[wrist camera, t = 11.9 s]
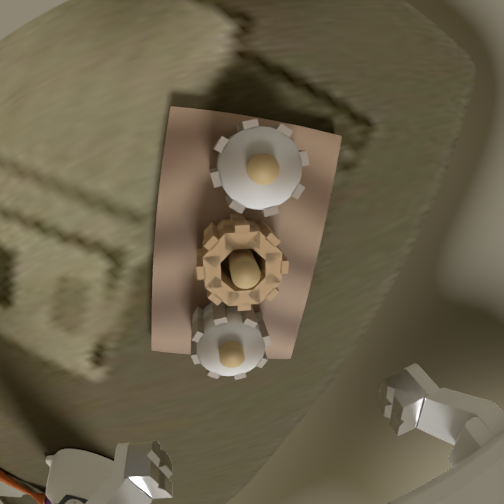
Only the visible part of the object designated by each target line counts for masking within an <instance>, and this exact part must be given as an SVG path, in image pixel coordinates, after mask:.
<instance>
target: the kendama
mask: <svg viewBox="0 0 504 504" xmlns="http://www.w3.org/2000/svg"><path fill="white" fill-rule="evenodd" d="M0 481H2V482H4V483H6V484H8V485H10V486H12V487H14V488H16V489H18V490H20V491H22V492H24V493H27V494H29V495H31V496H32V497H33V498H34V499H35V500H36V501H37V502H38V503H39V504H51V502H50V500H49V499H48V498H47V496H46V494H44V493H36V492H31V491H30V490H28V489H27V488H25V487H24V486H22V485H21V484H20V483H18V482H17V481H15V480H14V479H13V478H11V477H10V476H9V475H7V474H6V473H5V472H3V471H2V470H1V469H0Z"/></svg>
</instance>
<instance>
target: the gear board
mask: <svg viewBox="0 0 504 504" xmlns="http://www.w3.org/2000/svg"><path fill="white" fill-rule="evenodd" d="M341 138H342V136H339V135H335V134H331V133H327V132H323V131H319V130H315V129H311V128H306V127H302V126H297V125H293V124H288V123H283V122H278V121H273V120H268V119H263V118H257V117H251V116H245V115H239V114H232V113H226V112H218V111H211V110H203V109H194V108H184V107H174V106H171V107H170V112H169V118H168V125H167V131H166V138H165V145H164V152H163V159H162V167H161V176H160V184H159V194H158V204H157V215H156V227H155V241H154V257H153V279H152V351H161V352H170V353H180V354H191V358H192V360H193V362H194V364H200V363H201V364H202V365H203V366H204V367H205V368H206V369H207V375H208V376H210V377H213V378H216V379H218V378H219V376H220V375H223V376H234V377H235V380H237V379H241V378H245V377H247V376H246V372H248V371H250V370H252V369H253V368H254V367H256V366H258V367H260V368H262V367H263V365H264V364H265V363H266V362H267V360H268V359H290V358H291V355H292V351H293V348H294V344H295V341H296V337H297V334H298V330H299V327H300V323H301V319H302V315H303V312H304V308H305V304H306V300H307V296H308V293H309V289H310V285H311V281H312V277H313V272H314V268H315V264H316V260H317V256H318V252H319V247H320V243H321V238H322V234H323V229H324V225H325V220H326V216H327V211H328V206H329V201H330V196H331V192H332V186H333V181H334V176H335V171H336V166H337V160H338V155H339V149H340V143H341ZM230 213H241V214H242V213H243V214H244V216H245V217H246V218H252V220H253V221H255V222H256V223H258V222H259V221H260V220H262V221H264V222H265V223H266V224H267V225H268V226H269V227H270V228H271V230H272V231H273V232H274V233H275V235H276V236H277V237H278V239H279V240H280V241H281V242H280V243H279V244H278V246H279V248H280V249H281V251H282V252H283V253H284V255H285V256H286V258H287V259H288V260H289V269H288V274H282V282H281V283H280V284H279V285H278V286H277V288H278V290H279V292H280V293H279V294H277V295H276V296H275V297H274V298H273V299H272V300H271V301H269V300H268V299H267V298H265V299H264V300H263V301H262V302H261V303H260V304H251V310H246V311H238V310H237V306H228V305H227V304H225V303H224V302H223V301H222V302H221V303H220V304H219V305H216V304H215V303H214V302H212V301H211V300H210V299H208V298H207V289H206V288H205V281H204V280H197V269H196V263H197V249H198V248H203V240H204V230H205V229H206V228H207V227H208V226H209V224H210V223H211V222H213V223H214V224H215V225H216V226H217V225H218V224H219V223H220V222H221V221H222V219H223V220H226V219H230ZM256 258H257V252H256V251H255V250H253V249H236V250H232V252H231V253H230V254H229V255H228V256H227V257H226V258H225V259H224V260H223V261H222V262H221V263H222V264H223V265H225V266H226V267H227V268H228V269H229V270H230V273H231V278H232V281H233V283H234V284H235V285H236V286H237V287H239V288H242V289H248V288H252V287H253V286H255V285H256V284H257V283H258V282H259V280H260V276H261V273H260V269H259V267H258V265H257V263H256V260H255V259H256Z"/></svg>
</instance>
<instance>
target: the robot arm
mask: <svg viewBox="0 0 504 504" xmlns="http://www.w3.org/2000/svg"><path fill="white" fill-rule="evenodd" d="M378 387H379V388H380V390H381V391H380V392H379V393H378V404H379V407H380V409H381V411H382V413H383V415H384V416H386V417H388V418H390V426H391V427H392V429H393V430H394V432H395V434H396V435H397V436H399V435H401V434H403V433H405V432H408V431H410V430H411V429H414V428H416V427H417V428H418V429H420V430H423V431H424V432H427V433H429V434H431V435H433V436H435V437H437V438H440V439H442V440H444V441H446V442H448V443H450V444H453V445H454V447H453V449H452V451H451V453H450V454H449V457H448V460H449V461H450V463H451V464H452V466H453V467H452V468H450V469H449V470H447V471H446V472H444V473H442V474H441V475H439V476H438V477H436V478H434V479H432V480H431V481H429V482H427V483H426V484H424V485H422V486H420V487H418V488H416V489H415V490H413V491H411V492H409V493H407V494H405V495H403V496H401V497H399V498H397V499H395V500H393V501H391V502H389V503H386V504H504V412H503V411H502V410H501V409H500V408H499V407H498V406H497V405H496V404H495V403H494V402H493V401H490V400H486V399H482V398H478V397H475V396H471V395H467V394H464V393H460V392H457V391H453V390H449V389H446V388H441V389H439V387H438V386H437V385H436V384H435V383H434V382H433V381H432V380H431V379H430V378H429V376H428V375H427V374H426V373H425V372H424V371H423V370H422V369H421V367H420V366H419V365H418V364H413V365H411V366H409V367H406V368H405V369H402V370H399V371H398V372H395V373H393V374H391V375H389V376H387V377H385V378H382V379H380V381H379V386H378ZM160 448H161V445H160V444H159V443H158V442H157V441H146V442H132V443H119V444H118V445H117V447H116V451H115V457H114V461H112V460H110V459H108V458H105V457H103V456H100V455H98V454H95V453H91V452H88V451H83V450H78V449H62V450H59V451H58V452H57V453H56V454H55V455H50V456H46V463H47V464H48V465H49V466H50V470H49V475H48V481H47V486H46V496H47V498H48V499H49V500H50V502H51V504H150V503H151V501H152V499H155V498H168V497H173V483H172V482H171V481H170V479H169V477H170V476H171V475H172V473H173V468H172V463H171V459H170V457H169V455H168V454H167V453H166V452H165V451H163V450H161V449H160Z"/></svg>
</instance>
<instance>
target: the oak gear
mask: <svg viewBox="0 0 504 504" xmlns="http://www.w3.org/2000/svg"><path fill="white" fill-rule="evenodd" d="M280 242H281V241H280V240H279V239H278V237H277V236H276V235H275V233H274V232H273V231H272V230H271V228H270V227H269V226H268V225H267V224H266V223H265V222H264V221H262V220H260V221H259V222H258V223H256V222H255V221H253V220H252V218H246V217H245V216H244V214H243V213H242V214H241V213H230V219H226V220H223V219H222V221H221V222H220V223H219V224H218V225H217V226H216V225H215V224H214V223H213V222H211V223H210V224H209V226H208V227H207V228H206V229H205V230H204V240H203V248H198V249H197V263H196V269H197V280H204V281H205V288H206V289H207V298H208V299H210V300H211V301H212V302H214V303H215V304H216V305H219V304H220V303H221V302H222V301H223V302H224V303H225V304H227V305H228V306H237V310H238V311H246V310H251V304H260V303H261V302H262V301H263V300H264V299H265V298H267V299H268V300H269V301H271V300H272V299H273V298H274V297H275V296H276V295H277V294H279V293H280V292H279V290H278V288H277V286H278V285H279V284H280V283H281V282H282V274H288V269H289V260H288V259H287V258H286V256H285V255H284V253H283V252H282V251H281V249H280V248H279V246H278V244H279V243H280ZM236 249H253V250H255V251H256V252H257V258H256V259H255V260H256V263H257V265H258V267H259V269H260V273H261V276H260V280H259V282H258V283H257V284H256V285H255V286H253V287H252V288H248V289H242V288H239V287H237V286H236V285H235V284H234V283H233V281H232V278H231V273H230V270H229V269H228V268H227V267H226V266H225V265H223V264H222V263H221V262H222V261H223V260H224V259H225V258H226V257H227V256H228V255H229V254H230V253H231V252H232V250H236Z"/></svg>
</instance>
